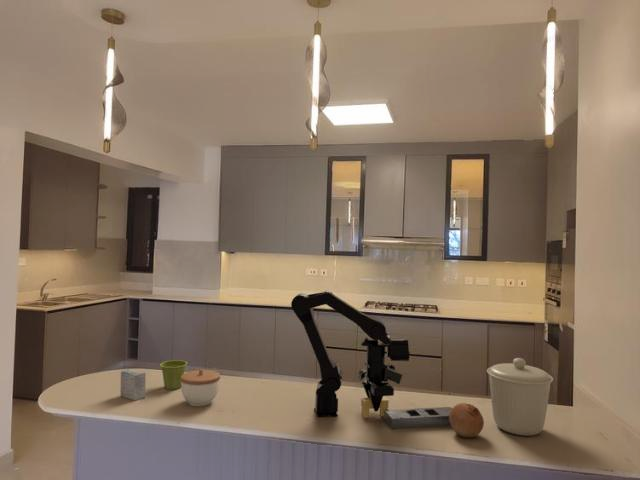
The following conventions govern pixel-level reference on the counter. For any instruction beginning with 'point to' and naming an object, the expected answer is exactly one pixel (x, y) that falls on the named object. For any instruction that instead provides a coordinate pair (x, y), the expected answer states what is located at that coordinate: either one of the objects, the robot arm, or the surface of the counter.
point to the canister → (519, 397)
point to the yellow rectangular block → (368, 405)
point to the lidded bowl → (200, 386)
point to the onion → (466, 420)
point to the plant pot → (173, 373)
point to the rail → (417, 417)
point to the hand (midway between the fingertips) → (374, 409)
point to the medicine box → (133, 384)
